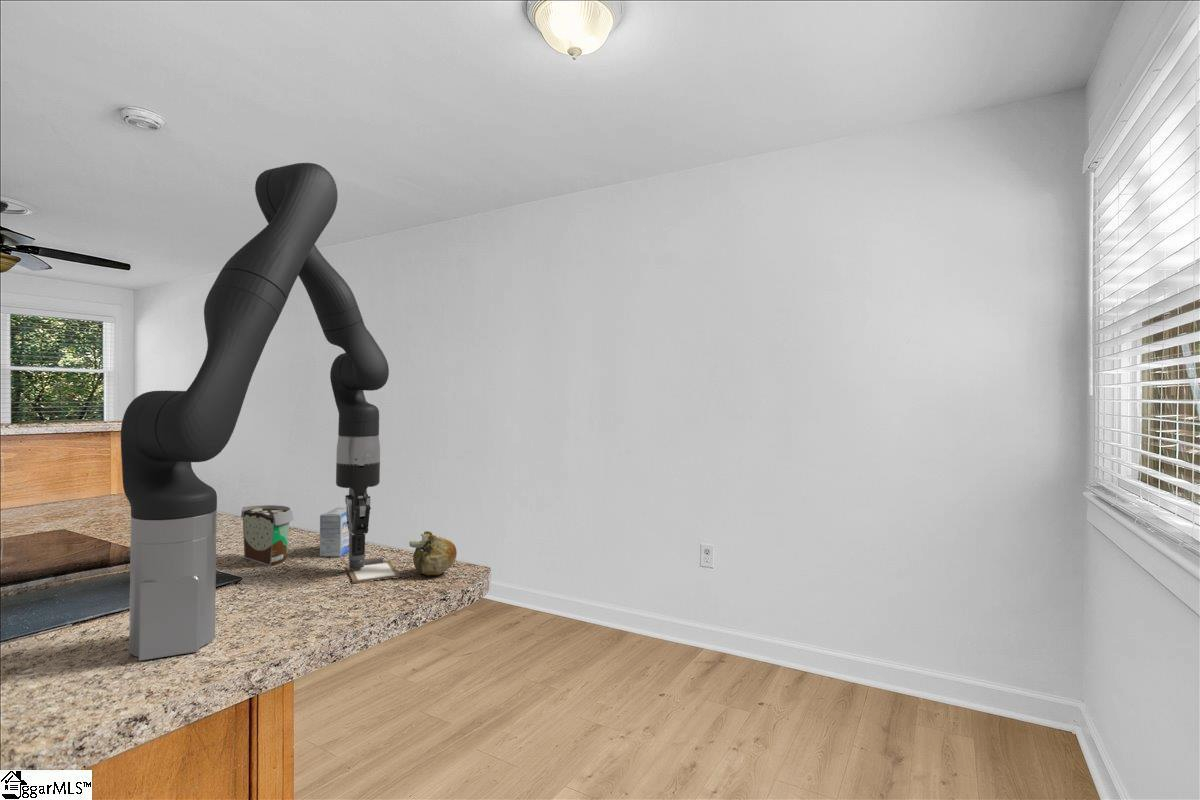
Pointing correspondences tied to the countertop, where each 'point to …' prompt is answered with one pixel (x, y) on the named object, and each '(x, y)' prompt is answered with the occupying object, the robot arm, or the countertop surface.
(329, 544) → the medicine box
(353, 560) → the marker
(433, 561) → the onion
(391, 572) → the clipboard
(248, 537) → the food container
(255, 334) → the robot arm
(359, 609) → the countertop surface
